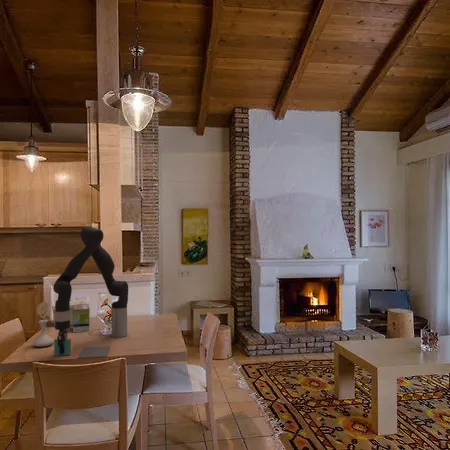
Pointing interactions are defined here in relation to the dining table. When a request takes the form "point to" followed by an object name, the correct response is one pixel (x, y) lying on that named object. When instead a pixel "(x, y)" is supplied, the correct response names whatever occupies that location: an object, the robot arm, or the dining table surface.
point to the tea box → (81, 318)
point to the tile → (66, 347)
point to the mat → (94, 352)
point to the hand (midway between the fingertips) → (62, 352)
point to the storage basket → (72, 303)
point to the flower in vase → (43, 327)
